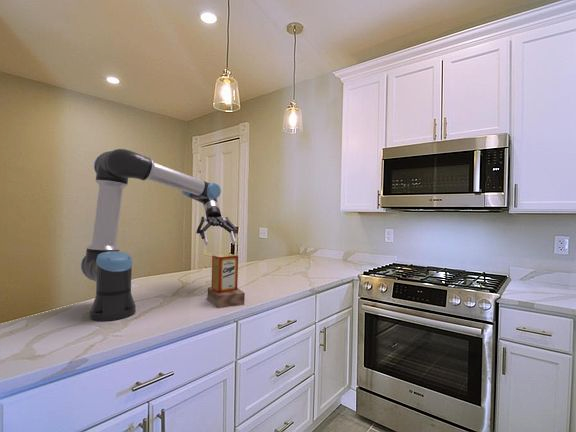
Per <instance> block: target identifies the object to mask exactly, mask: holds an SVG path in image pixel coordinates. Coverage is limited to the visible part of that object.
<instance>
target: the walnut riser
mask: <svg viewBox="0 0 576 432" xmlns="http://www.w3.org/2000/svg"><path fill="white" fill-rule="evenodd" d="M211 287H212V286H209V287H208V286H207V294H206V295H207V297H206V298H207V300H208V301H210V302H211V303H212V304H213V305H214V306H215V307H216V308H217V309H219V308H226V307H232V306H233V307H235V306H240V305H245V299H246V298H245V295H246V293H245V292H244V291H243V290H241V289H239V288H238V287H237V290H233V291H228V292H223V293H217V292H215V291H212V290H211Z"/></svg>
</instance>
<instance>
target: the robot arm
mask: <svg viewBox="0 0 576 432" xmlns="http://www.w3.org/2000/svg"><path fill="white" fill-rule="evenodd" d="M93 168H94V173H96V176H95V182H96V183H97V185H98V186H99V187H98V192H97V193H98V194H97V202H96V210H95V218H94V225H93V233H92V241H91V244H89V245H88V246H86V250H85V251H86V252H85V255H84V257H83V258H82V260H81V262H80V270H81V272H82V273H83V275H84V276H85V277H86V278H87V279H88V280H91V281H94V282H96V286H95V287H96V288H95V297H94V301H93V303H92V306H91V308H90V311H89V319H91V320H94V321H97V322H98V321H99V322H100V321H101V322H105V321H109V322H110V321H117V320H122V319H126V318H128V317H130V316H133V315H134V314H135V313H136V308H137V307H136V303H135V300H134V298H133V295H132V274H133V273H132V270H133V269H132V268H133V261H132V260H133V259H132V255H131V254H129V253H128V252H125V251H120V247H118V246H117V239H118V237H117V236H118V231H119V221H120V216H121V215H120V214H121V206H122V198H123V189H124V188H126V187H128V183H129V179H136V180H137V179H138V180H140V181H143V182H145V181H147V180H148V181H152V182H154V183H158V184H162V185H165V186H167V187H170V188H173V189H177V190H179V191H180V190H181V193H182V194H183V195H184V196H186V197H187V198H190V199H192V200H194V201H197V202H199V203H201V204H203V208H204V209H203V210H204V212H205V216H206V217H205V216H201V217H200V222H199V225H198V226H197V228H196V232H195V233H196V234H199V236H200V237H201V240H203V243H204V246H208V243H209V241H208V236H207V232H206V231H207V230H208V229H209V228H210V227H211V226H212V227H220V228H222V229H224V230H225V231H227V232H228V233H229V236H230V241H231V243H232V245H233V246H234V245H235V244H236V237H237V236H236V234H237V232H238V228H237V227H236V226H235V225H234V223H232V221H231V220H230V219H229V217H228V216H226V217H225V218H223V217H222V212H221V209H220V206H219V205H220V204H219V201H218V199H217V198H219V197H220V195H221V192H222V189H221V186H220V185H219V184H218V183H217V182H216V183H215V182H207V181H206V180H202V179H199V178H197V177H194V176H191V175H189V174H186V173H183V172H181V171H178V170H175V169H173V168H171V167H168V166H164V165H163V164H162V165H161V164H159V163H156V162H155V161H153V159H152V158H151V157H147V156H145V155H143V154H140V153H137V152H135V151H132V150H130V149H125V148H118V149H113V150H109V151H105V152H103V153H101V154H100V155H98V156H97V157H96V158H95V160H94V164H93ZM205 222H207V223H206V224H204V223H205ZM203 225H204V226H203Z"/></svg>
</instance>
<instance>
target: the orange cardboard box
mask: <svg viewBox="0 0 576 432" xmlns="http://www.w3.org/2000/svg"><path fill="white" fill-rule="evenodd" d="M238 273H239V255H237V254H233V253H226V254H225V253H224V254H223V253H222V254H216V255H215V254H214V255H212V256H211V286H210V287H211V290H212V291H215V292H217V293H223V292H228V291H233V290H237V288H238V278H239V277H238V276H239V275H238Z"/></svg>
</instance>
